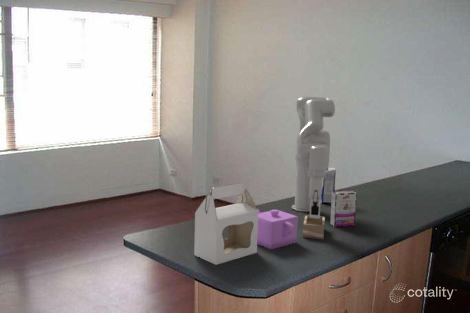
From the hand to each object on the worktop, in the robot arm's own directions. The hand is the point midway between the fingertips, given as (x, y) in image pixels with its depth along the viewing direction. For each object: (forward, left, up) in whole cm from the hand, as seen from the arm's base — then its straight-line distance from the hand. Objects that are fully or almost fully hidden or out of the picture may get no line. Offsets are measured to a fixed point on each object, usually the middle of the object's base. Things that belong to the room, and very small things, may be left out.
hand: (314, 212), depth 232 cm
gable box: (+37, -33, -10) cm, 50 cm away
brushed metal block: (0, 0, -2) cm, 2 cm away
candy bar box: (-17, +13, -10) cm, 24 cm away
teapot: (+16, -17, -10) cm, 26 cm away
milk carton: (-59, +5, -10) cm, 60 cm away
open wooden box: (0, 0, -10) cm, 10 cm away
